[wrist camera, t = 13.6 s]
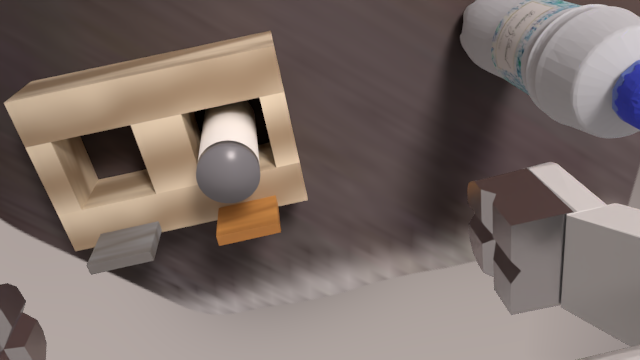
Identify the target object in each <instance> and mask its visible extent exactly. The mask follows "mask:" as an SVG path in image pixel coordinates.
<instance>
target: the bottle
mask: <svg viewBox="0 0 640 360" xmlns="http://www.w3.org/2000/svg"><path fill="white" fill-rule="evenodd" d="M460 41H461V45H462V47H463V48H464V50H465V51H466V53H467V54H468V56H469V58H470V59H471V60H472V61H473V62H474V63H475V64H476V65H478V66H479V67H481V68H482V69H484V70H486V71H488V72H490V73H492V74H494V75H496V76H499V77H501V78H503V79H505V80H506V81H508V82H509V83H511V84H512V85H514V86H516V87H517V88H519V89H520V90H522V91H523V92H525V93H527V94H528V95H530V97H531V99H532V100H533V102H534V103H535V104H536V106H537V107H538V108H540V109H541V110H542V111H543V112H545V113H546V114H547V115H548V116H549V117H550V118H552V119H553V120H555V121H557V122H559V123H561V124H564V125H568V126H571V127H573V128H576V129H579V130H581V131H584V132H586V133H589V134H591V135H594V136H597V137H601V138H621V137H624V136H628V135H632V134H634V133H636V132H638V131H640V17H638V16H637V15H635V14H634V13H632V12H630V11H628V10H626V9H623V8H619V7H612V6H611V7H609V6H606V5H600V4H589V5H584V6H580V5H576V4H573V3H569V2H565V1H562V0H476V1H475V2H474V3H472V4H471V5H469V6H468V7H467V8H466V9H465V11H464V14H463V28H462V33H461V35H460Z"/></svg>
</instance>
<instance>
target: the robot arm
mask: <svg viewBox="0 0 640 360" xmlns="http://www.w3.org/2000/svg"><path fill="white" fill-rule="evenodd" d="M467 200H468V204H469V206H470V207H471V208H472V210H473V211H474V212H475V214H474V216H473V217H472V219H471V221H470V222H469V235H470V242H471V246H472V250H473V254H474V256H475V258H476V261H477V263H478V265H479V266H480V268H481V269H482V271H483V272H484V273H485V274H488V275H490V276H492V277H494V290H495V291H496V293H497V294H498V296H499V297H500V299H501V300H502V302H503V303H504V305H505V306H506V308H507V309H508V311H509V312H510V314H511V315H513V314H519V313H523V312H528V311H533V310H538V309H543V308H548V307H553V306H558V305H561V308H563V309H565V310H566V311H568V312H570V313H572V314H574V315H575V316H577V317H579V318H581V319H582V320H584V321H586V322H588V323H590V324H592V325H593V326H595V327H597V328H598V329H600V330H602V331H604V332H606V333H607V334H609V335H611V336H613V337H615V338H616V339H618V340H620V341H621V342H623V343H625V344H627V345H629V346H630V347H629V348H624V349H620V350H616V351H611V352H607V353H603V354H598V355H595V356H590V357H586V358H582V359H578V360H640V209H635V208H632V207H628V206H625V205H621V204H617V203H615V204H610V205H606V204H605V203H604V202H603V201H601V200H600V199H599V198H598V197H597V196H595V195H594V194H593V193H592V192H591V191H589V190H588V189H587V188H586V187H585V186H583V185H582V184H581V183H580V182H578V181H577V180H576V179H575V178H574V177H572V176H571V175H570V174H569V173H568V172H566V171H565V170H564V169H563V168H562V167H560V166H559V165H558V164H557V163H553V162H548V163H544V164H540V165H536V166H532V167H528V168H525V169H521V170H517V171H513V172H509V173H505V174H501V175H497V176H493V177H489V178H485V179H481V180H477V181H473V182H469V184H468V189H467ZM25 302H26V300H25V299H24V297H23V296H22V294H21V293H20V291H19V290H18V288H17V287H16V286H13V285H10V284H8V283H7V284H2V285H0V360H46V340H45V336H44V333H43V330H42V328H41V326H40V325H39V323H38V321H37V320H36V319H34V318H32V317H30V316H29V315H27V314H25V313H23V309H24V305H25Z"/></svg>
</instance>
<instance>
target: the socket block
mask: <svg viewBox="0 0 640 360" xmlns="http://www.w3.org/2000/svg"><path fill="white" fill-rule="evenodd" d="M254 98H260V102H261V106H262V110H263V115H264V119H265V123H266V127H267V131H268V135H269V139H270V142H269V143H265V144H260V145H258V153H259V164H260V182H259V185H258V187H257V189H256V190H255V192H254V193H253V194H252V195H251V196H249V197H248V198H247V199H245V200H243V201H240V202H237V203H220V202H217V201H214V200H212V199H210V198H209V197H207V196H206V195H205V194H204V193H203V192H202V191H201V189H200V188H199V186H198V183H197V180H196V170H197V163H198V156H199V149H200V142H201V134H200V130H199V127H198V124H197V121H196V118H195V114H194V111H198V110H203V109H208V108H212V107H217V106H222V105H226V104H231V103H236V102H240V101H245V100H249V99H254ZM4 105H5V107H6V109H7V111H8V113H9V115H10V117H11V119H12V121H13V123H14V125H15V127H16V130H17V132H18V134H19V136H20V138H21V140H22V142H23V144H24V146H25V148H26V150H27V152H28V154H29V156H30V158H31V161H32V163H33V165H34V167H35V169H36V171H37V173H38V175H39V177H40V179H41V181H42V183H43V185H44V187H45V189H46V192H47V194H48V196H49V198H50V200H51V202H52V204H53V206H54V208H55V210H56V212H57V214H58V216H59V218H60V220H61V223H62V225H63V227H64V229H65V231H66V233H67V235H68V237H69V239H70V241H71V243H72V245H73V247H74V249H75V251H80V250H84V249H89V248H93V247H95V248H94V250H93V252H92V254H91V257H90V259H89V261H88V263H87V267H88V269H89V271H90V273H91V274H96V273H100V272H105V271H109V270H114V269H118V268H123V267H127V266H132V265H136V264H141V263H145V262H150V261H154V258H155V254H156V251H157V247H158V243H159V239H160V235H161V232H165V231H170V230H174V229H179V228H184V227H188V226H193V225H197V224H202V223H206V222H211V221H215V220H218V221H217V232H216V238H217V241H218V244H219V246H221V245H226V244H230V243H235V242H239V241H244V240H248V239H253V238H257V237H262V236H266V235H271V234H275V233H280V232H281V226H280V217H279V209H278V206H283V205H287V204H292V203H296V202H301V201H305V200H308V198H307V194H306V189H305V184H304V180H303V175H302V171H301V166H300V162H299V157H298V153H297V148H296V144H295V139H294V135H293V130H292V125H291V121H290V116H289V112H288V107H287V103H286V98H285V94H284V89H283V85H282V80H281V76H280V71H279V66H278V62H277V57H276V53H275V48H274V44H273V39H272V35H271V31H267V32H263V33H258V34H253V35H248V36H244V37H239V38H234V39H229V40H225V41H220V42H215V43H210V44H206V45H201V46H196V47H192V48H187V49H182V50H177V51H173V52H168V53H163V54H158V55H154V56H149V57H144V58H139V59H135V60H130V61H125V62H120V63H116V64H111V65H106V66H101V67H97V68H92V69H87V70H83V71H78V72H73V73H68V74H64V75H59V76H54V77H49V78H45V79H40V80H35V81H31V82H30V83H28V84H27V85H26V86H25V87H23V88H22V89H21V90H19V91H18V92H17V93H16V94H14V95H13V96H12V97H11V98H9V99H8V100H7V101H5V102H4ZM128 125H131V128H132V130H133V133H134V136H135V139H136V141H137V144H138V147H139V149H140V152H141V155H142V157H143V160H144V163H145V165H146V168H147V169H145V170H141V171H136V172H132V173H127V174H122V175H118V176H113V177H109V178H104V179H98V177H97V175H96V172H95V170H94V168H93V165H92V163H91V161H90V158H89V156H88V154H87V151H86V149H85V147H84V144H83V142H82V140H81V137H80V136H82V135H87V134H91V133H96V132H100V131H105V130H110V129H114V128H119V127H124V126H128Z"/></svg>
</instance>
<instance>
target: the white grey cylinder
mask: <svg viewBox="0 0 640 360" xmlns="http://www.w3.org/2000/svg"><path fill="white" fill-rule="evenodd" d="M196 180H197V183H198V186H199V188H200V189H201V191H202V192H203V193H204V194H205V195H206V196H207V197H209V198H210V199H212V200H214V201H217V202H220V203H237V202H240V201H243V200H245V199H247V198H248V197H249V196H251V195H252V194H253V193H254V192H255V190H256V189H257V187H258V185H259V182H260V164H259V153H258V142H257V132H256V121H255V113H254V110H253V108H252V106H251V105H250V104H249V103H248V102H247V101H246V100H245V101H240V102H236V103H231V104H226V105H222V106H217V107H212V108H208V109H206V110H205V114H204V121H203V128H202V135H201V142H200V149H199V156H198V163H197V170H196Z"/></svg>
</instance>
